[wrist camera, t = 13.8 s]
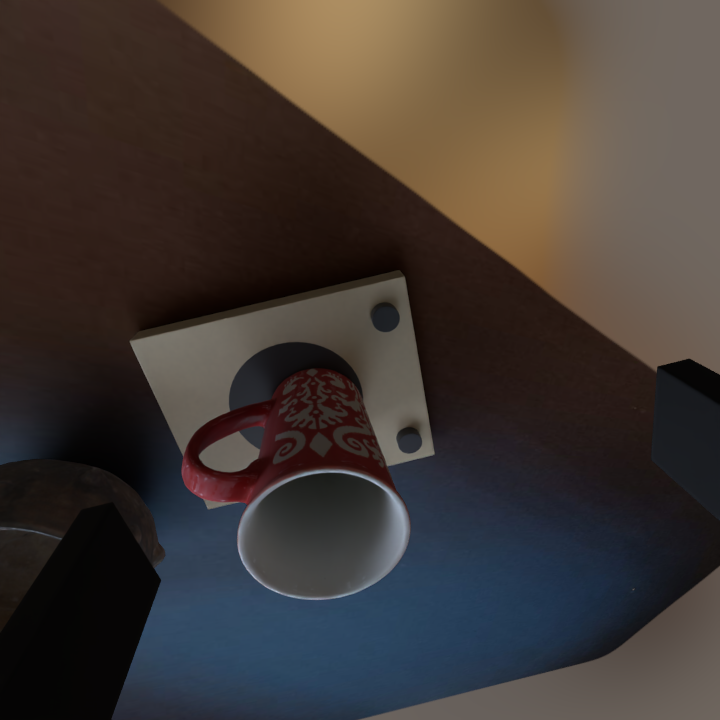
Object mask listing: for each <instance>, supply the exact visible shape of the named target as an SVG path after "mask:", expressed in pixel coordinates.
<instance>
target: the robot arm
mask: <svg viewBox="0 0 720 720" xmlns="http://www.w3.org/2000/svg"><path fill="white" fill-rule="evenodd" d="M651 460H652V461H653V462H654V463H656V464H657V465H658V466H659V467H660V468H661V469H662V470H663V471H664V472H666V473H667V474H668V475H669V476H670V477H671V478H672V479H673V480H675V481H676V482H677V483H678V484H679V485H680V486H681V487H682V488H684V489H685V490H686V491H687V492H688V493H689V494H690V495H691V496H692V497H694V498H695V499H696V500H697V501H698V502H699V503H700V504H701V505H703V506H704V507H705V508H706V509H707V510H708V511H709V512H710V513H711V514H713V515H714V516H715V517H716V518H717V519H718V520H719V521H720V375H719V374H717V373H715V372H714V371H711V370H710V369H708V368H706V367H704V366H702V365H701V364H699V363H697V362H695V361H693V360H691V359H686V360H682V361H678V362H674V363H670V364H666V365H662V366H658V367H657V380H656V394H655V409H654V423H653V437H652V452H651ZM160 582H161V579H160V578H159V576H158V574H157V573H156V571H155V569H154V568H153V566H152V565H151V563H150V561H149V560H148V558H147V556H146V555H145V553H144V552H143V550H142V548H141V547H140V545H139V543H138V542H137V540H136V539H135V537H134V535H133V534H132V532H131V531H130V529H129V527H128V526H127V524H126V522H125V521H124V519H123V518H122V516H121V514H120V513H119V511H118V509H117V508H116V506H115V505H114V503H113V502H110V503H106V504H102V505H98V506H94V507H90V508H86V509H82V510H81V511H80V512H79V514H78V515H77V517H76V518H75V520H74V522H73V523H72V525H71V526H70V528H69V529H68V531H67V532H66V534H65V535H64V537H63V538H62V540H61V541H60V543H59V544H58V546H57V547H56V549H55V550H54V552H53V553H52V555H51V556H50V558H49V559H48V561H47V562H46V564H45V566H44V567H43V569H42V570H41V572H40V573H39V575H38V576H37V578H36V579H35V581H34V582H33V584H32V585H31V587H30V588H29V590H28V591H27V593H26V594H25V596H24V597H23V599H22V600H21V602H20V603H19V605H18V607H17V608H16V610H15V611H14V613H13V614H12V616H11V617H10V619H9V620H8V622H7V623H6V625H5V626H4V628H3V629H2V631H1V632H0V720H111V718H112V715H113V713H114V710H115V707H116V704H117V701H118V699H119V696H120V693H121V690H122V688H123V685H124V682H125V679H126V676H127V674H128V671H129V668H130V665H131V663H132V660H133V657H134V654H135V651H136V649H137V646H138V643H139V640H140V637H141V635H142V632H143V629H144V626H145V624H146V621H147V618H148V615H149V612H150V610H151V607H152V604H153V601H154V599H155V596H156V593H157V590H158V587H159V585H160Z"/></svg>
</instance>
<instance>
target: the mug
mask: <svg viewBox="0 0 720 720" xmlns="http://www.w3.org/2000/svg"><path fill="white" fill-rule="evenodd" d="M254 426H261V427H263V428H264V429H265V430H264V434H263V438H262V443H261V448H260V452H259V456H258V459H256V460H254V461H253V462H251V463H250V465H249V466H248V467H247V468H245V469H243V470H240V471H236V472H221V471H217V470H213V469H211V468H209V467H207V466H205V465H204V464H203V463H202V461H201V460H200V459H199V455H200V454H201V452H202V451H203V450H205V449H206V448H207V447H208V446H210V445H211V444H213V443H215V442H216V441H218V440H220V439H222V438H224V437H226V436H228V435H231V434H233V433H236V432H238V431H240V430H243V429H246V428H250V427H254ZM182 477H183V481H184V483H185V486H186V487H187V488H188V489H189V490H190V491H191V492H192V493H194V494H195V495H197V496H199V497H200V498H202V499H205V500H209V501H215V502H244V503H246V504H247V507H246V509H245V511H244V512H243V514H242V517H241V520H240V522H239V527H238V534H237V544H238V550H239V554H240V557H241V560H242V562H243V564H244V566H245V567H246V569H247V570H248V572H249V573H250V574H251V575H252V576H253V577H254V578H255V579H256V580H257V581H258V582H259V583H261V584H262V585H264V586H265V587H267V588H269V589H271V590H273V591H275V592H277V593H279V594H282V595H286V596H289V597H294V598H299V599H309V600H322V599H334V598H338V597H343V596H347V595H350V594H353V593H356V592H359V591H361V590H363V589H365V588H367V587H369V586H371V585H373V584H374V583H376V582H378V581H379V580H380V579H382V578H383V577H384V576H386V575H387V574H388V573H389V572H390V571H391V570H392V569H393V568H394V567H395V566H396V565H397V563H398V562H399V561H400V559H401V557H402V556H403V554H404V552H405V550H406V548H407V545H408V542H409V538H410V531H411V523H410V516H409V512H408V509H407V506H406V504H405V502H404V501H403V499H402V497H401V496H400V495H399V493H398V492H397V491H396V488H395V486H394V483H393V481H392V478H391V475H390V472H389V470H388V467H387V464H386V461H385V458H384V456H383V454H382V451H381V448H380V446H379V443H378V440H377V438H376V435H375V433H374V430H373V427H372V425H371V422H370V419H369V416H368V414H367V411H366V408H365V405H364V402H363V399H362V397H361V395H360V392H359V390H358V389H357V387H356V386H355V385H354V384H353V382H352V381H351V380H350V379H348V378H347V377H346V376H344V375H342V374H340V373H338V372H336V371H333V370H329V369H322V368H313V369H307V370H303V371H299V372H297V373H295V374H293V375H291V376H290V377H288V378H286V379H285V380H284V381H283V382H282V383H281V384H280V385H279V386H278V387H277V389H276V391H275V392H274V394H273V396H272V399H270V400H267V401H263V402H260V403H254V404H251V405H247V406H244V407H241V408H238V409H235V410H232V411H230V412H227V413H225V414H222V415H220V416H218V417H216V418H214V419H212V420H210V421H209V422H207V423H206V424H204V425H203V426H202V427H200V428H199V429H198V430H197V431H196V432H195V433H194V435H193V436H192V438H191V439H190V441H189V443H188V444H187V447H186V450H185V453H184V457H183V463H182Z"/></svg>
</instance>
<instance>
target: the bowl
mask: <svg viewBox="0 0 720 720" xmlns="http://www.w3.org/2000/svg"><path fill="white" fill-rule="evenodd" d="M110 502H113V503H114V505H115V506H116V508H117V509H118V511H119V513H120V514H121V516H122V518H123V519H124V521H125V522H126V524H127V526H128V527H129V529H130V531H131V532H132V534H133V535H134V537H135V539H136V540H137V542H138V543H139V545H140V547H141V548H142V550H143V552H144V553H145V555H146V556H147V558H148V560H149V561H150V563H151V565H152V566H153V568H155V567H156V566H157V565H158V564H159V563H160V562H162V560H163V559H164V557H165V551H164V549H163V547H162V546H161V545H160V544H159V542H158V538H157V533H156V528H155V523H154V519H153V516H152V514H151V512H150V510H149V509H148V507H147V506H146V505H145V503H144V501H143V500H142V498H141V497H140V496H139V494H138V493H137V492H136V491H135V490H134V489H133V488H132V487H130V486H129V485H128V484H127V483H125V482H124V481H123V480H121V479H120V478H118V477H117V476H115V475H114V474H112V473H110V472H108V471H105V470H103V469H100V468H97V467H92V466H89V465H86V464H80V463H75V462H68V461H61V460H48V459H32V460H23V461H17V462H11V463H6V464H3V465H0V632H1V631H2V629H3V628H4V626H5V625H6V623H7V622H8V620H9V619H10V617H11V616H12V614H13V613H14V611H15V610H16V608H17V607H18V605H19V603H20V602H21V600H22V599H23V597H24V596H25V594H26V593H27V591H28V590H29V588H30V587H31V585H32V584H33V582H34V581H35V579H36V578H37V576H38V575H39V573H40V572H41V570H42V569H43V567H44V566H45V564H46V562H47V561H48V559H49V558H50V556H51V555H52V553H53V552H54V550H55V549H56V547H57V546H58V544H59V543H60V541H61V540H62V538H63V537H64V535H65V534H66V532H67V531H68V529H69V528H70V526H71V525H72V523H73V522H74V520H75V518H76V517H77V515H78V514H79V512H80V511H81V510H82V509H86V508H90V507H94V506H98V505H102V504H106V503H110Z"/></svg>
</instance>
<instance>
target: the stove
mask: <svg viewBox="0 0 720 720" xmlns="http://www.w3.org/2000/svg"><path fill="white" fill-rule="evenodd" d="M130 344H131V346H132V348H133V350H134V352H135V355H136V357H137V359H138V361H139V363H140V365H141V367H142V369H143V372H144V374H145V376H146V378H147V380H148V382H149V384H150V387H151V389H152V391H153V393H154V395H155V397H156V399H157V401H158V404H159V406H160V408H161V410H162V412H163V414H164V416H165V419H166V421H167V423H168V425H169V427H170V429H171V431H172V433H173V436H174V438H175V440H176V442H177V444H178V446H179V448H180V451H181V453H182V455H183V457H184V453H185V450H186V447H187V444H188V443H189V441H190V439H191V438H192V436H193V435H194V433H195V432H196V431H197V430H198V429H199V428H200V427H202V426H203V425H204V424H206V423H207V422H209V421H210V420H212V419H214V418H216V417H218V416H220V415H222V414H225V413H227V412H230V411H232V410H235V409H238V408H241V407H244V406H247V405H251V404H254V403H260V402H263V401H267V400H270V399H272V396H273V394H274V392H275V391H276V389H277V387H278V386H279V385H280V384H281V383H282V382H283V381H284V380H285V379H286V378H288V377H290V376H291V375H293V374H295V373H297V372H299V371H303V370H307V369H313V368H322V369H329V370H333V371H336V372H338V373H340V374H342V375H344V376H346V377H347V378H348V379H350V380H351V381H352V382H353V384H354V385H355V386H356V387H357V389H358V390H359V392H360V395H361V397H362V399H363V402H364V405H365V408H366V411H367V414H368V416H369V419H370V422H371V425H372V427H373V430H374V433H375V435H376V438H377V440H378V443H379V446H380V448H381V451H382V454H383V456H384V458H385V461H386V464H387V466H390V465H394V464H398V463H402V462H406V461H411V460H415V459H419V458H423V457H427V456H431V455H434V454H435V453H434V447H433V441H432V435H431V429H430V423H429V417H428V411H427V405H426V399H425V393H424V387H423V381H422V375H421V369H420V363H419V357H418V351H417V346H416V340H415V334H414V328H413V322H412V316H411V310H410V304H409V298H408V292H407V286H406V280H405V276H404V275H403V274H402V273H401V271H400V270H397V271H393V272H389V273H385V274H380V275H376V276H372V277H368V278H363V279H359V280H355V281H351V282H346V283H342V284H338V285H334V286H329V287H325V288H321V289H317V290H312V291H308V292H304V293H300V294H295V295H291V296H287V297H283V298H279V299H274V300H270V301H266V302H262V303H257V304H253V305H249V306H245V307H240V308H236V309H232V310H228V311H223V312H219V313H215V314H211V315H206V316H202V317H198V318H194V319H189V320H185V321H181V322H177V323H172V324H168V325H164V326H160V327H155V328H151V329H147V330H143V331H139V332H138V333H137V334H136V335H135V336H134V337H133V338H132V339H131V340H130ZM264 430H265V429H264V428H263V427H261V426H254V427H250V428H246V429H243V430H240V431H238V432H236V433H233V434H231V435H228V436H226V437H224V438H222V439H220V440H218V441H216V442H215V443H213V444H211V445H210V446H208V447H207V448H206V449H205V450H203V451H202V452H201V454H200V455H199V459H200V460H201V461H202V463H203V464H204V465H205V466H207V467H209V468H211V469H213V470H217V471H221V472H236V471H240V470H243V469H245V468H247V467H248V466H249V465H250V463H251V462H253V461H254V460H256V459H258V456H259V452H260V448H261V443H262V438H263V434H264ZM203 500H204V502H205V504H206V506H207V508H208V509H212V508H216V507H220V506H225V505H229V504H233V503H237V502H215V501H209V500H205V499H203Z"/></svg>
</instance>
